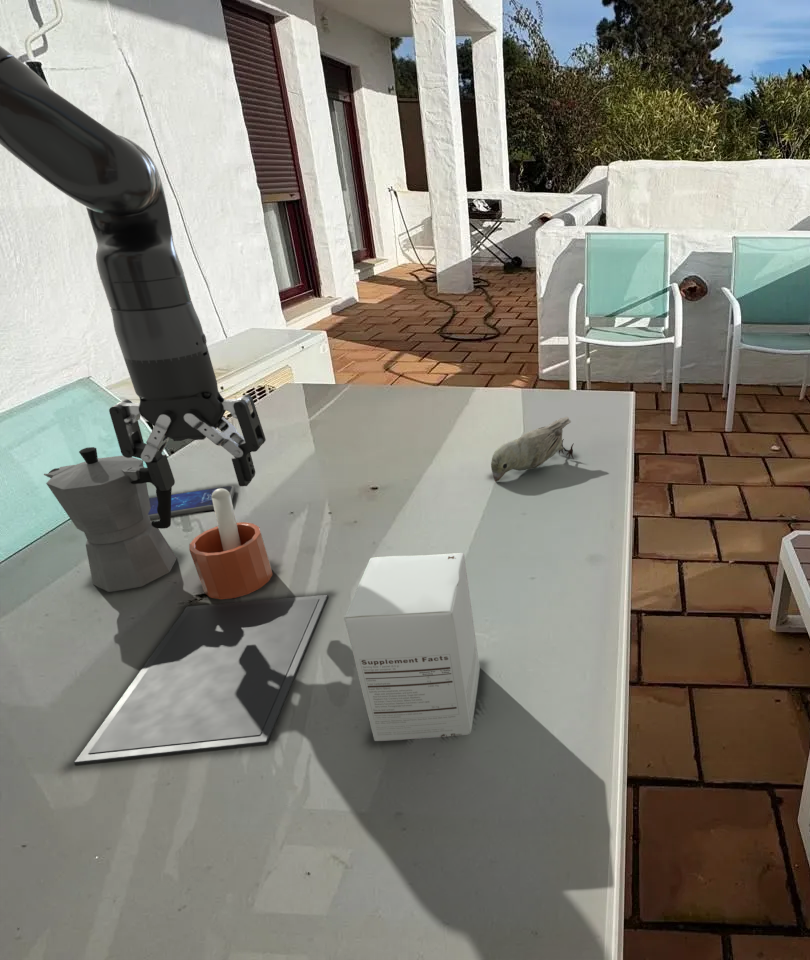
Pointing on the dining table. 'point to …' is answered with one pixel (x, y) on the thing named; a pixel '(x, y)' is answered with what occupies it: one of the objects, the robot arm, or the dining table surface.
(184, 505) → the smartphone
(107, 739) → the tablet
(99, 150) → the robot arm
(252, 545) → the pen pot
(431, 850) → the dining table surface
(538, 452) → the decorative bird
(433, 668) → the rectangular carton
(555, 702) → the dining table surface
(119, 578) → the coffeepot
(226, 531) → the off-white long cylinder
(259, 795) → the dining table surface
